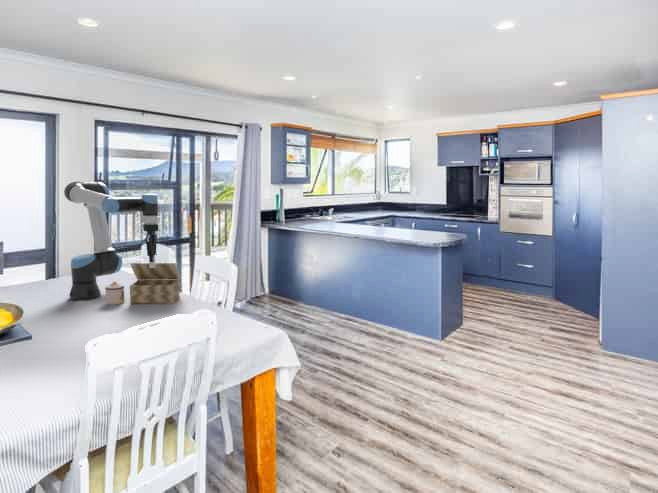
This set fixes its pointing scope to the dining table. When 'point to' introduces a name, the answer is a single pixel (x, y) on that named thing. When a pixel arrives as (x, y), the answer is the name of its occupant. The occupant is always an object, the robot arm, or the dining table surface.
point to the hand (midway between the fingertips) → (152, 267)
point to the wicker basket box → (154, 291)
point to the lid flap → (155, 271)
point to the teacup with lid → (114, 293)
